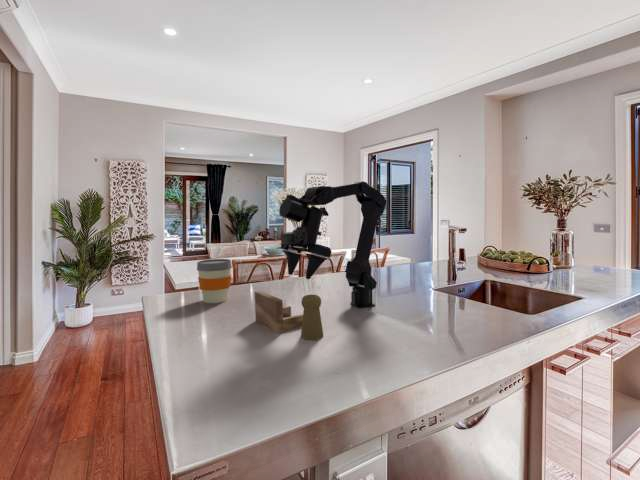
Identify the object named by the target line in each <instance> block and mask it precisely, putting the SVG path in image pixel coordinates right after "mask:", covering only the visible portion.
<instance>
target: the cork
mask: <svg viewBox="0 0 640 480" xmlns="http://www.w3.org/2000/svg"><path fill="white" fill-rule="evenodd" d="M321 304H322V298H321V297H320V295H318V294H306V295H304V296H303V297H302V299H301V306H302V308H303V313H302V314H303V321H302V326H301V331H300V337H301V339H303V340H306V341H317V340H318V341H319V340H321V339H323V338H324V331H323V330H324V329H323V323H322V322H323V321H322V317H321V316H322V315H321V310H320V307H321V306H322V305H321Z"/></svg>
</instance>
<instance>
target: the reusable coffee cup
mask: <svg viewBox="0 0 640 480" xmlns="http://www.w3.org/2000/svg"><path fill="white" fill-rule="evenodd" d="M231 269H232V261H231V259H230V258H229V259H227V258H212V259H204V260H199V261H197V263H196V270H197V272H198V277H197V278H198V284H199V289H200V290H201V293H202V298H203V303H205V304H220V303H221V304H222V303H225V302H226V301H229V292H230V288H231V283H232V274H231V272H232V271H231Z"/></svg>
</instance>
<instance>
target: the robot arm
mask: <svg viewBox="0 0 640 480" xmlns="http://www.w3.org/2000/svg"><path fill="white" fill-rule="evenodd" d="M350 196H355V197H356V201H357V202H358V203H359V204H360V205H361V206H360V211H361V214H362V222H361V227H360V231H359V237H358V240H357V245H356V248H355V249H356V251H355V254H354V257H353V258H352V260H348V261H347V263H346V268H345V271H344V273H345V278H346V280H347V283H348V286H349V287H352V289H351V293H350V294H351V296H350V297H351V298H350V299H351V301H350V305H352V306H354V307H356V308H358V309H359V308H360V309H361V308H366V307H367V308H368V307H373V306H376V303H374V302H373V290H375V289H376V288H377V284H378V283H377V281H376V279H374V277H373V276H372V265H371V263H370V257H371V252H372V247H373V242H374V237H375V233H376V229H377V224H378V221H379V219H380V218H381V217H382V216H383V214H384V213H385V210H386V206H387V199H386V197H385V196H384V195H383V194H382V193H381V191H379V190H378V189H376V188H373V187H372V186H370V184H368V183H367V182H366V181H355V182H353V183H347V184H343V185H337V186H330V185H321V186H320V185H319V186H311V187H308V188H307V189H306V190H305V192H304V194H303V195H302V196H300V198H298V197H296V196H295V195H293V194H287V195H286V197H285V199H284V200H283V201H282V203H281V204H280V205H279V210H278V211H279V215H280V217H281V218H284V219H287V220H290V221H293V222H295V223H300V222H301V223H300V226H297V227H296V229H292V231H287V232H281V233H280V242H281V243H280V250H281V251H282V253H284V255H285V256H286V261H287V273H288V276H292V275H293V274H294V272H295V270H296V268H297V266H298V264H299V261H300V260H301V258H302V253H303V252H304V253H305V255H306V259H308V260H307V267H306V273H305V279H306V280H310V279H311V278H312V277H313V275H314V274H315V273H316V271H317V270H318V268H320V267H321V265H322V264H323V263H324V262H325V261H327V260H328V258H329V259H330V258H331V256H332V249H331V248H330V247H329V246H326V245H322V244H319V243H317V242H318V240H317V239H318V236H319V237H320V236H321V234H322V231H319V230H320V227H321V222H322V219H323V217H328V216H329V212H328V211H327V210H326V208H325V207H320V208H319V207H318V206H325V205H327V204H331V203H332V202H334V201H335V200H337V199H340V198H345V197H350ZM309 206H310V207H309ZM316 206H317V207H316Z"/></svg>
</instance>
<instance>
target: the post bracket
mask: <svg viewBox="0 0 640 480" xmlns="http://www.w3.org/2000/svg"><path fill="white" fill-rule="evenodd" d="M254 303H255V304H254V306H255V307H254V308H255V309H254V310H255V321H256V322H257V323H259V324H261V325H262V326H263V327H265V328H267V329H269V330H270V331H271V332H273V333H274V334H281V333H284V331H287V330H290V329H295V328H298V327H302V321H303V313H301V314H296V315H293V316H292V306H291V305H287V306H284V304H283V299H281V298H279V297H277V296H275V295H271V294H269V293H268V292H265V291H262V290H258V291H257V290H256V291H254Z"/></svg>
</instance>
